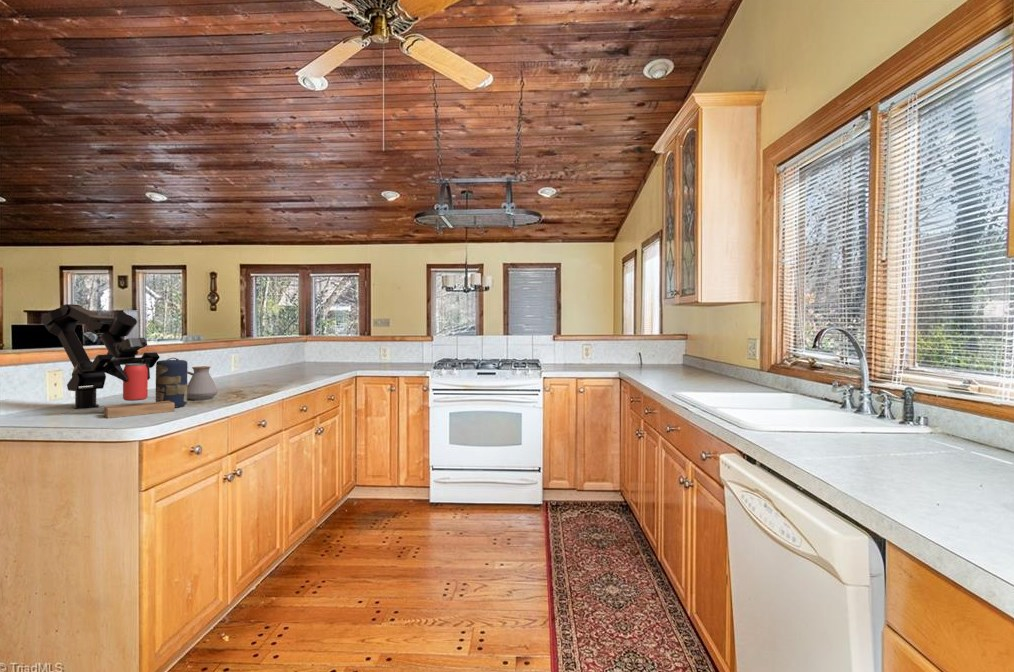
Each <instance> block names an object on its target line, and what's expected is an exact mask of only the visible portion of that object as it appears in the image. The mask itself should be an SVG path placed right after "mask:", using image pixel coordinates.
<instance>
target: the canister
mask: <svg viewBox="0 0 1014 672" xmlns="http://www.w3.org/2000/svg"><path fill="white" fill-rule="evenodd" d="M188 369H189V368H188V360H185V359H179V358H177V357H169V358H167V359H163V360H158V361H157V362H156V363H155V402H161V401H171V402H174V403H175V408H177V407H178V408H179V407H183V406H184V407H185V406H186V405H187V403H188V397H187V386H188V374H187V371H188Z"/></svg>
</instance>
